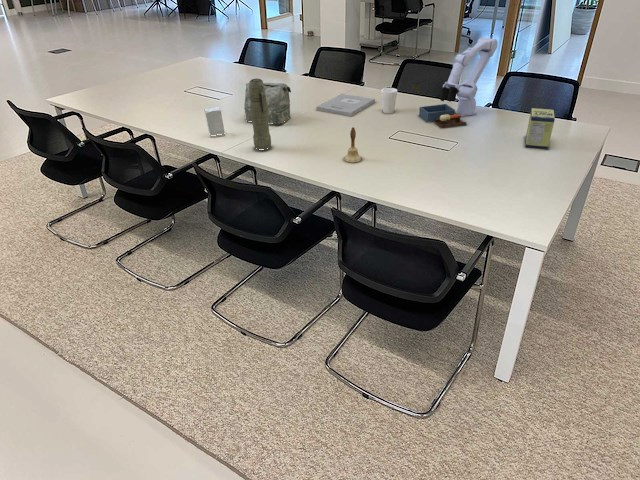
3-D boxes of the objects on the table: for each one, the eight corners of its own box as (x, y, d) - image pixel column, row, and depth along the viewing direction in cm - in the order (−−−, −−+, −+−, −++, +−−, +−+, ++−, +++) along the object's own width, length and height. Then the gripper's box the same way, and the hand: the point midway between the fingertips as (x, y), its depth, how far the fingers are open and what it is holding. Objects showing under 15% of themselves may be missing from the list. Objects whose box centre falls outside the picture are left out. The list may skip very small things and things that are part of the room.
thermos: (264, 153, 248) (256, 84, 229) (249, 148, 255) (241, 80, 236) (277, 148, 253) (271, 79, 234) (262, 143, 260) (255, 75, 241)
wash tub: (445, 112, 290) (445, 103, 287) (454, 118, 281) (455, 109, 278) (418, 115, 287) (419, 106, 284) (427, 122, 278) (428, 113, 275)
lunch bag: (295, 117, 293) (293, 80, 281) (282, 127, 279) (279, 88, 267) (257, 113, 301) (253, 76, 289) (242, 122, 287) (238, 85, 275)
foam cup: (395, 114, 290) (396, 92, 283) (379, 114, 292) (380, 92, 285) (396, 109, 298) (397, 88, 291) (381, 109, 300) (382, 87, 293)
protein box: (546, 138, 252) (553, 108, 244) (548, 149, 240) (555, 119, 231) (525, 136, 255) (531, 107, 247) (525, 147, 243) (531, 117, 234)
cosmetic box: (223, 132, 275) (219, 106, 267) (225, 135, 271) (221, 109, 263) (208, 134, 273) (204, 108, 265) (210, 138, 268) (205, 111, 260)
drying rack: (458, 119, 279) (459, 111, 277) (466, 125, 272) (467, 117, 269) (434, 122, 277) (435, 114, 274) (441, 128, 269) (442, 120, 267)
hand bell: (344, 156, 242) (343, 124, 233) (361, 155, 242) (361, 124, 233) (344, 163, 235) (344, 131, 226) (361, 162, 235) (362, 130, 226)
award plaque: (316, 110, 302) (316, 106, 301) (341, 96, 323) (341, 93, 322) (350, 116, 290) (350, 112, 289) (374, 102, 311) (374, 98, 310)
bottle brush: (458, 117, 275) (459, 111, 274) (461, 119, 273) (462, 113, 271) (438, 120, 273) (439, 114, 271) (441, 122, 270) (441, 116, 269)
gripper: (442, 74, 272) (432, 98, 275) (456, 73, 259) (446, 98, 261) (452, 79, 275) (443, 102, 277) (466, 78, 261) (456, 103, 264)
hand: (445, 101), depth 269 cm, fingers open, 7 cm apart
